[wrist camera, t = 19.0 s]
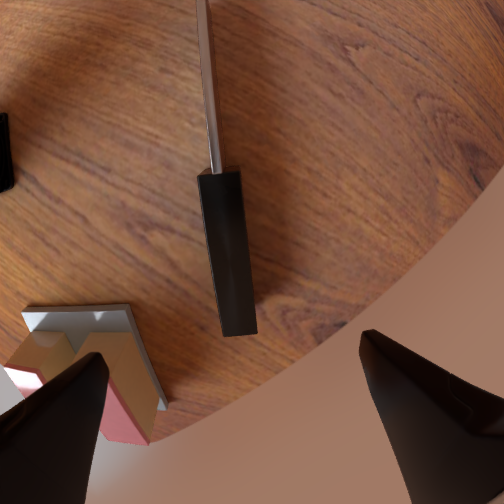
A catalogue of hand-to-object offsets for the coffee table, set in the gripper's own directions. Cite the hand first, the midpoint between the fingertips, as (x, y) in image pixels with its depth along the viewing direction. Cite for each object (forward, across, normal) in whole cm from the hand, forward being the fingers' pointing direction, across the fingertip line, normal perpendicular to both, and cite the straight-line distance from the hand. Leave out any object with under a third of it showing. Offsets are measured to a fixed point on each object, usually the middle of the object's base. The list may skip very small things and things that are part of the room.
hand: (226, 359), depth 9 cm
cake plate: (+11, +14, +10) cm, 21 cm away
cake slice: (+10, +11, +10) cm, 18 cm away
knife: (+11, 0, -6) cm, 12 cm away
